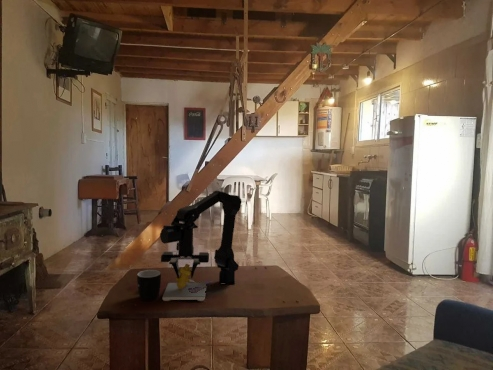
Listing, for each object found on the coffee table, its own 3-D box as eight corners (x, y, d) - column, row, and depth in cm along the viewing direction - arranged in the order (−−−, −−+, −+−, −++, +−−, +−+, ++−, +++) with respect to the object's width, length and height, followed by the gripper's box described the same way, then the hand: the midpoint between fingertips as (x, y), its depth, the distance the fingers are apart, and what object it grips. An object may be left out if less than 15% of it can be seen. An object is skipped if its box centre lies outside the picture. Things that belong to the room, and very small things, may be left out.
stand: (206, 287, 155) (206, 282, 154) (204, 302, 140) (204, 296, 139) (168, 288, 154) (168, 282, 153) (162, 302, 139) (162, 296, 138)
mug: (140, 294, 146) (139, 269, 145) (162, 294, 147) (162, 269, 146) (133, 306, 134) (132, 280, 133) (157, 306, 135) (157, 279, 134)
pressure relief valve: (170, 286, 144) (179, 262, 145) (185, 285, 155) (192, 262, 156) (182, 291, 142) (190, 266, 143) (196, 289, 153) (203, 266, 154)
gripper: (210, 236, 153) (209, 272, 155) (165, 235, 152) (165, 271, 153) (208, 242, 142) (207, 280, 143) (160, 241, 141) (160, 280, 142)
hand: (185, 278), depth 146 cm, fingers closed on pressure relief valve, 5 cm apart
